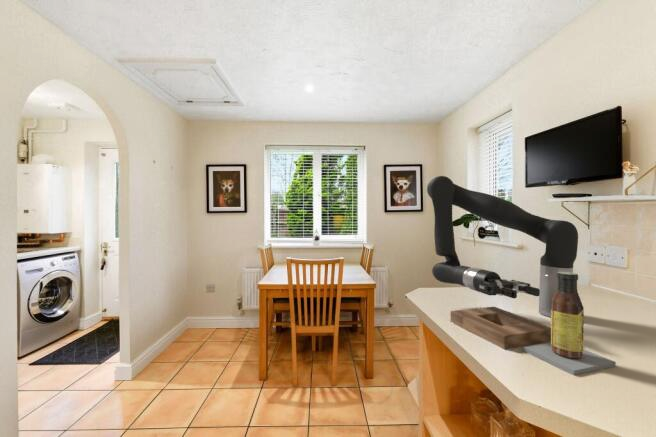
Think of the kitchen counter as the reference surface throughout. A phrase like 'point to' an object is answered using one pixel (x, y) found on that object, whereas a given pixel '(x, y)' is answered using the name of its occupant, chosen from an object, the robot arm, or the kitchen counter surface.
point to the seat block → (501, 327)
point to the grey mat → (569, 359)
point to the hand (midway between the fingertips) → (527, 293)
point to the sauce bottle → (567, 317)
